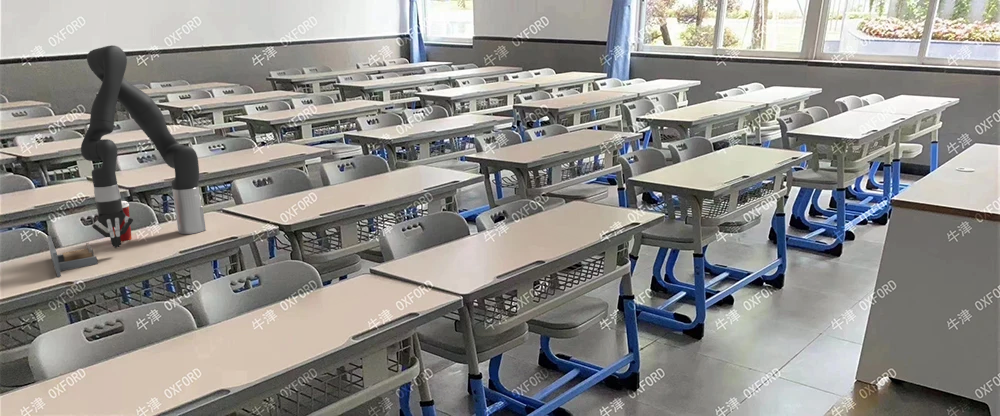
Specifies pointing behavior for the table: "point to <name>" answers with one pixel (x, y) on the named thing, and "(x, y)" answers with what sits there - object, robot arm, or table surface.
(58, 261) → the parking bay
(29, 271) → the table surface
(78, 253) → the walnut cart
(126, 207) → the paper cup
